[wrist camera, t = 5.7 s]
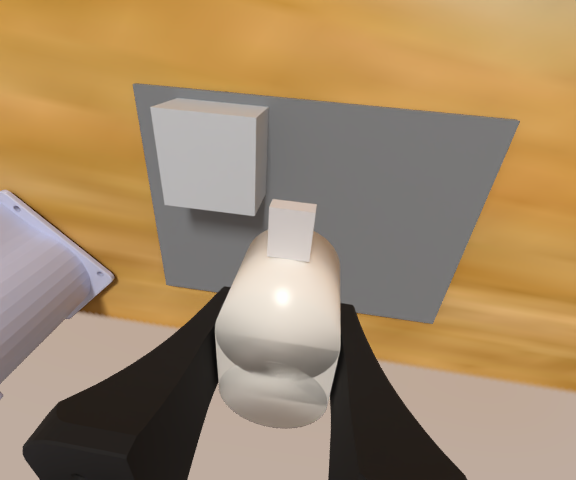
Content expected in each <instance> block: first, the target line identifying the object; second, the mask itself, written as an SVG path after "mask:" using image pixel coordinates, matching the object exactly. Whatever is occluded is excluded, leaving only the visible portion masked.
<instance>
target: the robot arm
mask: <svg viewBox="0 0 576 480" xmlns="http://www.w3.org/2000/svg"><path fill="white" fill-rule="evenodd" d="M113 280H114V275H113V274H112V273H111V272H110V271H109V270H108V269H106V268H105V267H104V266H103V265H101V264H100V263H99V262H98V261H96V260H95V259H94V258H93V257H91V256H90V255H89V254H88V253H86V252H85V251H84V250H83V249H81V248H80V247H79V246H78V245H76V244H75V243H74V242H73V241H71V240H70V239H69V238H68V237H66V236H65V235H64V234H63V233H61V232H60V231H59V230H58V229H56V228H55V227H54V226H53V225H51V224H50V223H49V222H48V221H46V220H45V219H44V218H43V217H41V216H40V215H39V214H38V213H36V212H35V211H34V210H33V209H31V208H30V207H29V206H28V205H26V204H25V203H24V202H22V201H21V200H20V199H19V198H17V197H16V196H15V195H14V194H12V193H11V192H10V191H8V190H2V191H0V384H1V383H2V381H4V379H6V377H7V376H9V374H10V373H12V371H14V369H16V368H17V366H19V364H21V363H22V362H23V361H24V359H25V358H27V356H28V355H29V354H30V353H31V352H32V351H33V350H34V349H35V348H36V347H37V346H38V345H39V344H40V343H41V342H42V341H43V340H44V339H45V338H46V337H47V336H48V335H49V334H50V333H51V332H52V331H53V330H54V329H55V328H56V327H57V326H58V325H59V324H60V323H61V322H62V321H63V320H64V319H70V318H71V317H73V316H74V315H75V314H76V313H77V312H78V311H79V310H80V309H82V308H83V307H84V306H85V305H86V304H87V303H88V302H90V301H91V300H92V299H93V298H94V297H95V296H96V295H97V294H99V293H100V292H101V291H102V290H103V289H104V288H105V287H107V286H108V285H109V284H110V283H111V282H112V281H113ZM230 288H231V287H226V286H224V287H223V288H221V289H220V291H219V292H218V293H217V294H216V295H215V296H214V297H213V298H212V299H211V300H210V301H209V302H208V303H207V304H206V305H205V306H204V307H203V308H202V309H201V310H200V311H199V312H198V313H197V314H196V315H195V316H194V317H193V318H192V319H191V320H189V321H188V322H187V323H186V324H185V325H184V326H183V327H181V328H180V329H179V330H178V331H177V332H176V333H174V334H173V335H172V336H171V337H170V338H168V339H167V340H166V341H165V342H163V343H162V344H161V345H159V346H158V347H156V348H155V349H154V350H152V351H151V352H149V353H148V354H146V355H145V356H143V357H142V358H141V359H139V360H137V361H136V362H134V363H133V364H131V365H130V366H128V367H126V368H125V369H123V370H121V371H119V372H118V373H116V374H114V375H112V376H111V377H109V378H108V379H105V380H104V381H102V382H100V383H98V384H96V385H94V386H92V387H90V388H88V389H86V390H84V391H82V392H79V393H77V394H75V395H73V396H71V397H69V398H67V399H65V400H62V401H60V402H59V403H58V404H57V405H56V406H55V407H54V408H53V409H52V410H51V412H49V414H48V415H47V416H46V417H45V419H44V420H43V421H42V423H41V424H40V425H39V426H38V428H37V429H36V430H35V432H34V433H33V434H32V435H31V437H30V438H29V439H28V440H27V442H26V443H25V444H24V446H23V456H24V458H25V460H26V461H27V462H28V464H29V465H30V467H31V468H32V469H33V471H34V472H35V473H36V475H37V476H38V477H39V479H40V480H187V478H188V475H189V471H190V468H191V464H192V460H193V457H194V453H195V450H196V447H197V443H198V440H199V436H200V433H201V430H202V426H203V423H204V420H205V417H206V413H207V410H208V407H209V404H210V401H211V399H212V396H213V393H214V391H215V389H216V386H217V384H218V368H217V354H216V340H215V324H216V320H217V317H218V315H219V313H220V311H221V308H222V306H223V304H224V302H225V299H226V297H227V295H228V293H229V290H230ZM340 326H341V346H340V353H339V357H338V361H337V366H336V370H335V374H334V379H333V383H332V387H331V392H330V406H331V439H330V460H329V479H328V480H467V479H466V476H465V475H464V474H463V473H462V472H461V471H460V470H459V469H458V467H457V466H456V465H455V464H454V463H453V462H452V461H451V460H450V459H449V458H448V457H447V456H446V455H445V454H444V453H443V451H442V450H441V449H440V448H439V447H438V446H437V445H436V444H435V442H434V441H433V440H432V439H431V438H430V436H429V435H428V434H427V433H426V432H425V430H424V429H423V428H422V427H421V425H420V424H419V423H418V421H417V420H416V419H415V418H414V416H413V415H412V414H411V412H410V411H409V410H408V409H407V407H406V406H405V404H404V403H403V401H402V400H401V399H400V397H399V396H398V394H397V393H396V391H395V390H394V388H393V387H392V385H391V384H390V382H389V381H388V379H387V377H386V375H385V374H384V372H383V370H382V368H381V367H380V365H379V363H378V361H377V359H376V357H375V355H374V353H373V352H372V349H371V347H370V345H369V343H368V341H367V339H366V337H365V334H364V332H363V330H362V327H361V325H360V322H359V320H358V317H357V314H356V311H355V307H354V306H353V305H351V304H344V303H340ZM2 397H3V394H2V393H1V392H0V399H1V398H2Z"/></svg>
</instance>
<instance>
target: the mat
mask: <svg viewBox="0 0 576 480" xmlns="http://www.w3.org/2000/svg"><path fill="white" fill-rule="evenodd" d="M133 89H134V95H135V101H136V107H137V113H138V119H139V125H140V131H141V137H142V143H143V148H144V154H145V160H146V166H147V172H148V178H149V184H150V190H151V196H152V202H153V208H154V214H155V220H156V226H157V231H158V237H159V243H160V249H161V255H162V261H163V267H164V273H165V279H166V285H171V286H178V287H184V288H191V289H198V290H205V291H212V292H219V291H220V289H221V288H223V287H224V286H226V287H231V286H232V284H233V281H234V279H235V277H236V275H237V272H238V270H239V268H240V266H241V263H242V261H243V259H244V257H245V254H246V252H247V250H248V248H249V246H250V244H251V242H252V241H253V240H254V239H255V238H256V237H257V236H258V235H259V234H261V233H262V232H264V231H266V230H268V222H269V206H270V204H271V202H272V199H277V200H285V201H293V202H302V203H310V204H317V207H316V214H315V222H314V230H313V231H315V232H317V233H318V234H320V235H322V236H323V237H324V238H325V239H327V240H328V241H329V242H330V243H331V245H332V246H333V247H334V249H335V251H336V252H337V255H338V257H339V261H340V303H344V304H351V305H353V306H354V307H355V311H356V313H362V314H369V315H376V316H383V317H390V318H397V319H403V320H410V321H417V322H424V323H431V324H433V322H434V320H435V317H436V315H437V313H438V310H439V308H440V306H441V303H442V301H443V299H444V296H445V294H446V292H447V289H448V287H449V285H450V283H451V280H452V278H453V276H454V273H455V271H456V269H457V266H458V264H459V262H460V259H461V257H462V255H463V252H464V250H465V248H466V245H467V243H468V241H469V238H470V236H471V234H472V231H473V229H474V227H475V225H476V222H477V220H478V218H479V215H480V213H481V211H482V208H483V206H484V204H485V201H486V199H487V197H488V194H489V192H490V190H491V187H492V185H493V183H494V180H495V178H496V176H497V173H498V171H499V169H500V166H501V164H502V162H503V160H504V157H505V155H506V153H507V150H508V148H509V146H510V143H511V141H512V139H513V136H514V134H515V132H516V129H517V127H518V125H519V122H520V121H518V120H515V119H505V118H494V117H484V116H473V115H463V114H452V113H442V112H431V111H421V110H410V109H400V108H389V107H379V106H368V105H358V104H347V103H337V102H326V101H316V100H305V99H295V98H284V97H274V96H263V95H253V94H242V93H232V92H221V91H211V90H200V89H190V88H179V87H169V86H158V85H148V84H137V83H136V84H133ZM176 98H184V99H194V100H204V101H214V102H224V103H235V104H245V105H255V106H265V107H269V111H268V140H267V169H266V194H265V196H264V198H263V200H262V202H261V204H260V207H259V209H258V211H257V213H256V215H255V216H249V215H241V214H233V213H225V212H217V211H209V210H201V209H193V208H185V207H177V206H169V205H165V204H164V197H163V190H162V184H161V177H160V170H159V163H158V156H157V150H156V143H155V136H154V129H153V123H152V116H151V109H150V107H152V106H155V105H158V104H161V103H164V102H167V101H170V100H173V99H176Z"/></svg>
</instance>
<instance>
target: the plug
mask: <svg viewBox="0 0 576 480" xmlns="http://www.w3.org/2000/svg"><path fill="white" fill-rule="evenodd" d="M316 207H317V204H310V203H302V202H293V201H285V200H277V199H272V202H271V204H270V206H269V222H268V230H266V231H264V232H262V233H261V234H259V235H258V236H257V237H256V238H255V239H254V240H253V241H252V242H251V244H250V246H249V248H248V250H247V252H246V254H245V257H244V259H243V261H242V263H241V266H240V268H239V270H238V272H237V275H236V277H235V279H234V281H233V284H232V286H231V288H230V290H229V293H228V295H227V297H226V299H225V302H224V304H223V306H222V308H221V311H220V313H219V315H218V317H217V320H216V324H215V340H216V354H217V368H218V382H219V391H220V394H221V397H222V399H223V401H224V402H225V403H226V405H227V406H228V407H229V408H230V409H231V410H233V411H234V412H235V413H236V414H238V415H240V416H241V417H243V418H245V419H247V420H249V421H251V422H254V423H256V424H260V425H263V426H268V427H273V428H297V427H302V426H306V425H308V424H311V423H313V422H315V421H317V420H318V419H319V418H320V417H321V416H322V415H323V414H324V412H325V411H326V408H327V404H328V400H329V396H330V392H331V387H332V383H333V379H334V374H335V370H336V366H337V361H338V357H339V353H340V346H341V326H340V261H339V257H338V255H337V252H336V251H335V249H334V247H333V246H332V245H331V243H330V242H329V241H328V240H327V239H325V238H324V237H323V236H322V235H320V234H318V233H317V232H315V231H313V230H314V222H315V214H316Z"/></svg>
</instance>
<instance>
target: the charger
mask: <svg viewBox="0 0 576 480" xmlns="http://www.w3.org/2000/svg"><path fill="white" fill-rule="evenodd" d="M150 109H151V116H152V123H153V129H154V136H155V143H156V150H157V156H158V163H159V170H160V177H161V184H162V190H163V197H164V204H165V205H169V206H177V207H185V208H193V209H201V210H209V211H217V212H225V213H233V214H241V215H249V216H255V215H256V213H257V211H258V209H259V207H260V204H261V202H262V200H263V198H264V196H265V194H266V169H267V140H268V111H269V107H265V106H255V105H245V104H235V103H224V102H214V101H204V100H194V99H184V98H176V99H173V100H170V101H167V102H164V103H161V104H158V105H155V106H152V107H150Z"/></svg>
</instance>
